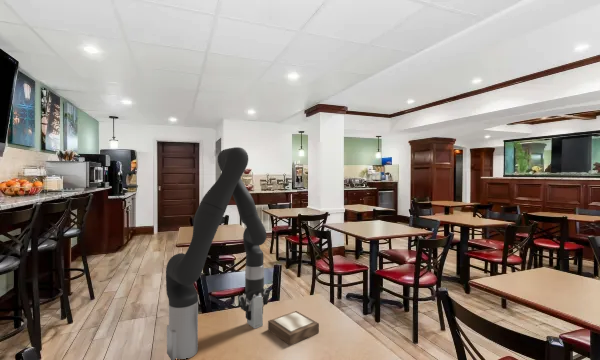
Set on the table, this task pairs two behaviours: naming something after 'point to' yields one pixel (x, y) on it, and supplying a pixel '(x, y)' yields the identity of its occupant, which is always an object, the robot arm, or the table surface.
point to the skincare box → (256, 312)
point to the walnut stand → (293, 327)
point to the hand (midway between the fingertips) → (254, 317)
